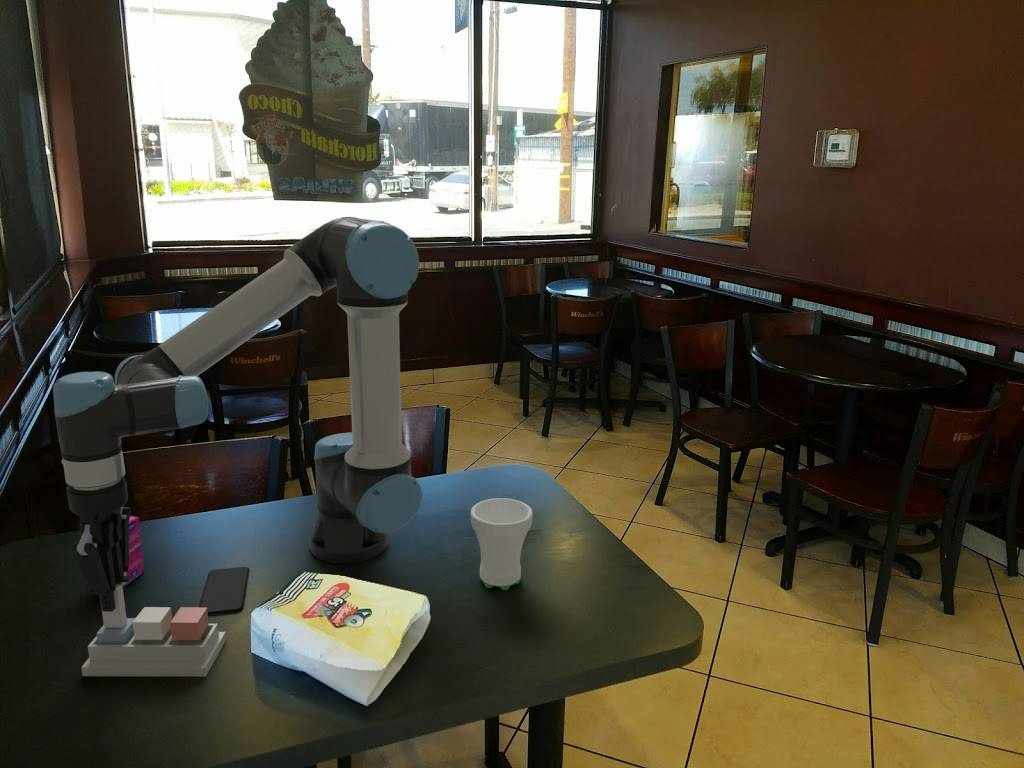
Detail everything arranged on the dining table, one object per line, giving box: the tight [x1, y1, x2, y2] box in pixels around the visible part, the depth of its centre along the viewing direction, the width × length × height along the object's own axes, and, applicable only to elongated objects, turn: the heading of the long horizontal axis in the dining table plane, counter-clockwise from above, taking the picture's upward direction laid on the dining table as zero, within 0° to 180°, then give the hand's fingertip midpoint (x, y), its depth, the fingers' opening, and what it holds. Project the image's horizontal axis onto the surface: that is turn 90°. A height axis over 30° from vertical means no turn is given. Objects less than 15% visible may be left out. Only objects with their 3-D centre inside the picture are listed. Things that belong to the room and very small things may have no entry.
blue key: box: [96, 617, 136, 645], centre depth 115 cm, size 4×4×3 cm
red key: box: [170, 606, 210, 640], centre depth 115 cm, size 4×4×3 cm
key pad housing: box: [80, 623, 227, 678], centre depth 116 cm, size 18×9×4 cm, turn 92°
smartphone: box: [198, 566, 250, 616], centre depth 135 cm, size 7×1×15 cm
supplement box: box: [121, 515, 145, 588], centre depth 137 cm, size 6×6×12 cm
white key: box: [133, 606, 173, 640], centre depth 115 cm, size 4×4×3 cm
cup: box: [470, 497, 533, 591], centre depth 139 cm, size 11×11×14 cm
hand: (115, 624), depth 115 cm, fingers closed
